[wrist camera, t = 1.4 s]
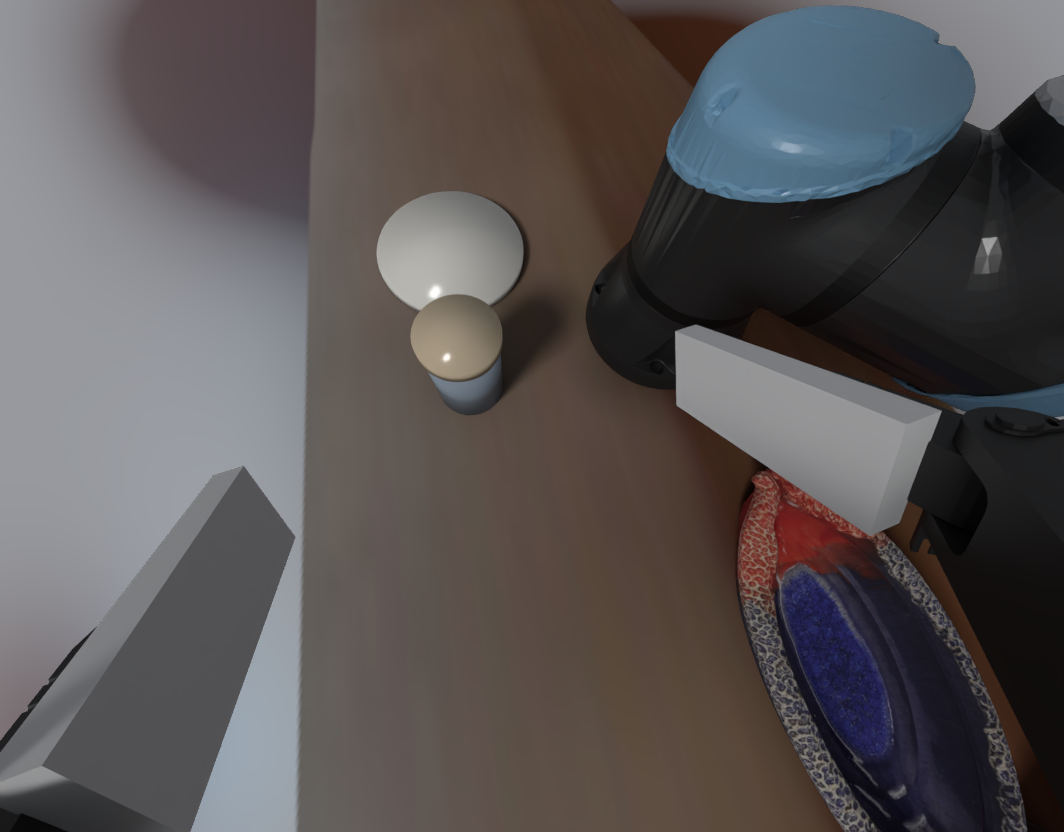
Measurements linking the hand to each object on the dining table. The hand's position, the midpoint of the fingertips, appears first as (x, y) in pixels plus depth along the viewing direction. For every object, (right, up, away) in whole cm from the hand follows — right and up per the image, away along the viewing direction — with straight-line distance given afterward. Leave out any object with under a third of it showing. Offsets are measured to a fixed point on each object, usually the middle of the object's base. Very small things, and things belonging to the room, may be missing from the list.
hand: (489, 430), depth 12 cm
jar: (-4, +3, +25) cm, 25 cm away
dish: (+26, -19, +20) cm, 38 cm away
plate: (-7, +17, +29) cm, 34 cm away
